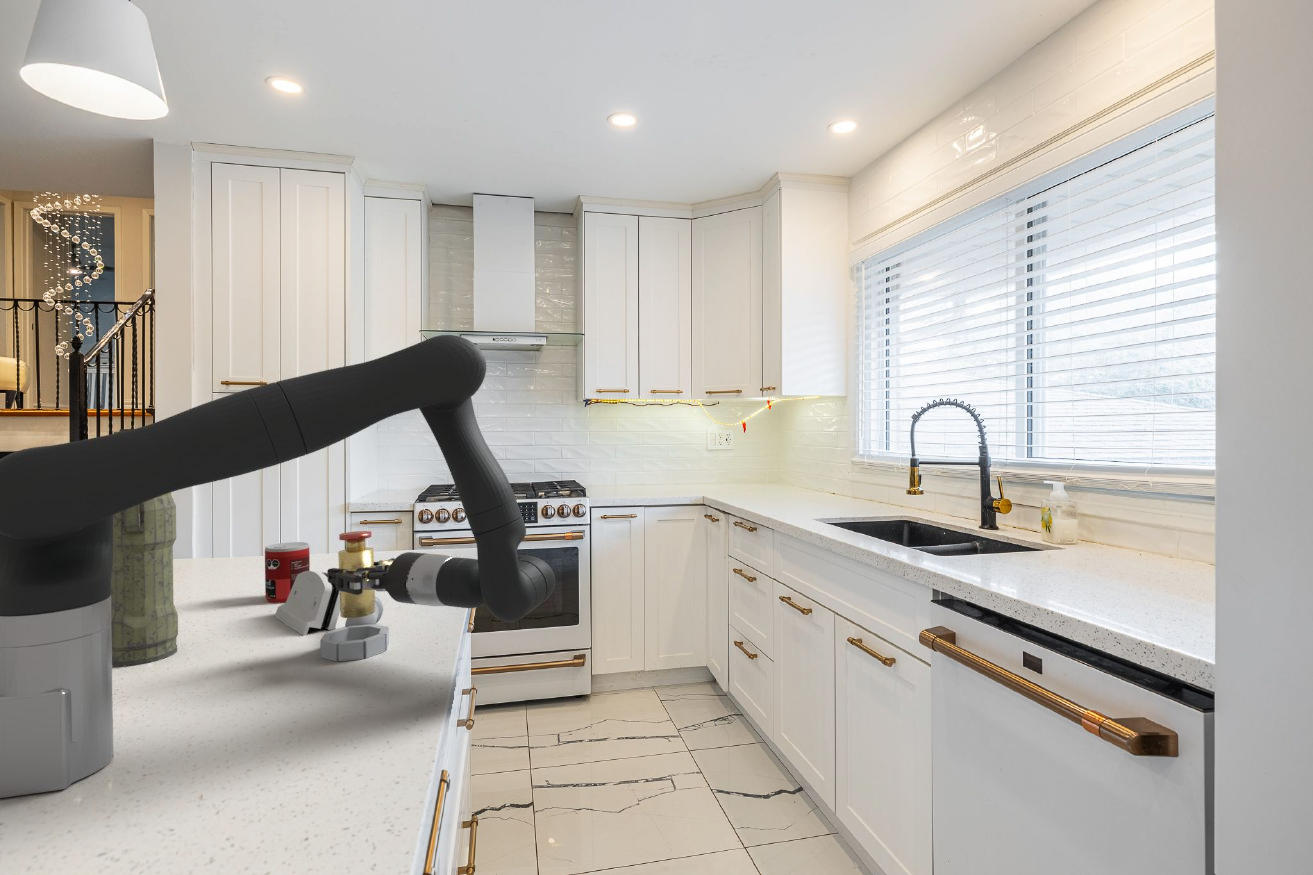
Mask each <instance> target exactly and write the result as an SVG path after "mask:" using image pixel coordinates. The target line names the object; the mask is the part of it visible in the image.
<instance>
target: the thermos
mask: <svg viewBox="0 0 1313 875" xmlns="http://www.w3.org/2000/svg"><path fill="white" fill-rule="evenodd" d="M133 429H134V428H119V430H118V431H113V432H112V434H115V433H120V432H124V431H128V430H133ZM175 503H176V502H175V501H174V498H173V495H172V492H170V493H167V494H164V495H162V496H159V497H156V498H153V499H151V500H148V501H146V502H143V503H141V504H138V505H136V506H133V507H131V508H128V509H126V510H124V511H121V512H119V513H117V514H114V515H113V567H112V576H111V620H112V623H111V632H112V667H132V666H138V665H139V666H140V665H144V664H149V663H153V662H157V661H160V660H165V659H167V658H168V657H169V658H170V657H171V656H173V655H175V654H176V653H177V652H178V645H177V637H178V636H179V614H178V611H177V608H176V606H175V604H174V544H175V542H176V540H177V506H176V504H175Z"/></svg>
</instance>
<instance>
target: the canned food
mask: <svg viewBox="0 0 1313 875" xmlns="http://www.w3.org/2000/svg"><path fill="white" fill-rule="evenodd" d="M310 566H311V563H310V544H309V543H308V542H302V541H301V542H300V541H291V542H280V543H274V544H269V545H267V546H265V547H264V582H265V583H264V585H265V586H264V588H265V589H264V590H265V592H264V593H265V595H264V596H265V599H266V601H267V602H268V603H273V604H281V603H282V604H284V603H286V601H287V599H288V596H289V594H290V592H291V589H292V587H293V585H294V582H295V580H296V577H297V576H298V574H300V573H302V572H305V571H311V569H310Z"/></svg>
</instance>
